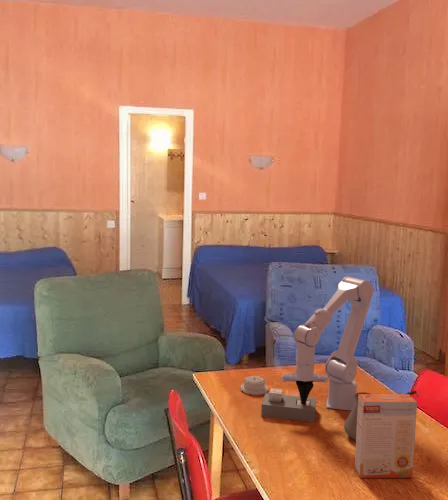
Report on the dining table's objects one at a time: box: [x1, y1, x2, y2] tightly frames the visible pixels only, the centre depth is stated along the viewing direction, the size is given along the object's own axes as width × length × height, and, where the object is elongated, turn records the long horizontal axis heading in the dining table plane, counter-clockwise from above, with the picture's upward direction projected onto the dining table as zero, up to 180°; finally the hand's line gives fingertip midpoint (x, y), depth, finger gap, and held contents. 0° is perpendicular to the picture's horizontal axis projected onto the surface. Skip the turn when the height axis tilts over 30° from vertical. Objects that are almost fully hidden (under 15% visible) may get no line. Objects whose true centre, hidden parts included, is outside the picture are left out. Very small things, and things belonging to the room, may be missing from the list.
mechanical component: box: [239, 375, 269, 396], centre depth 206 cm, size 10×4×10 cm
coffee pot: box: [343, 390, 419, 442], centre depth 170 cm, size 21×12×15 cm, turn 89°
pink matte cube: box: [297, 400, 310, 406], centre depth 185 cm, size 4×4×4 cm
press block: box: [260, 392, 317, 423], centre depth 186 cm, size 17×10×4 cm, turn 79°
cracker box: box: [354, 393, 418, 479], centre depth 149 cm, size 14×6×21 cm, turn 92°
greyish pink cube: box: [268, 388, 284, 403], centre depth 187 cm, size 4×4×4 cm
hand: (303, 402), depth 185 cm, fingers closed, pressing on pink matte cube
